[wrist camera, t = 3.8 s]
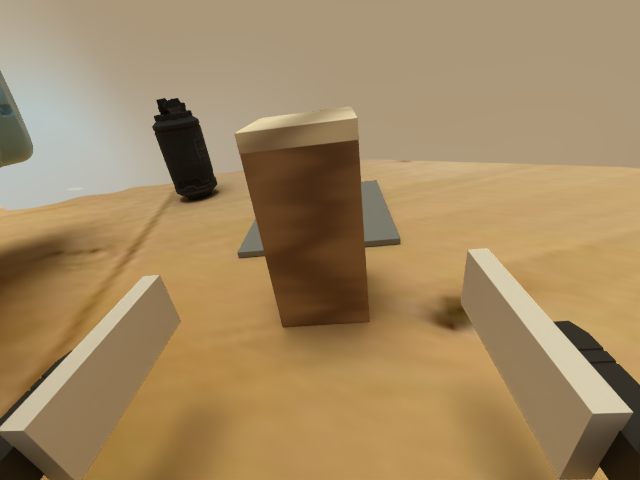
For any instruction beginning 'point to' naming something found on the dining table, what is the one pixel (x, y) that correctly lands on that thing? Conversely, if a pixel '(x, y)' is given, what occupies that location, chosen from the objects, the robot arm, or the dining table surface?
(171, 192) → the dining table surface
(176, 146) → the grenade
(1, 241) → the dining table surface
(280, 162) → the block
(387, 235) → the mat
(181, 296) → the dining table surface
